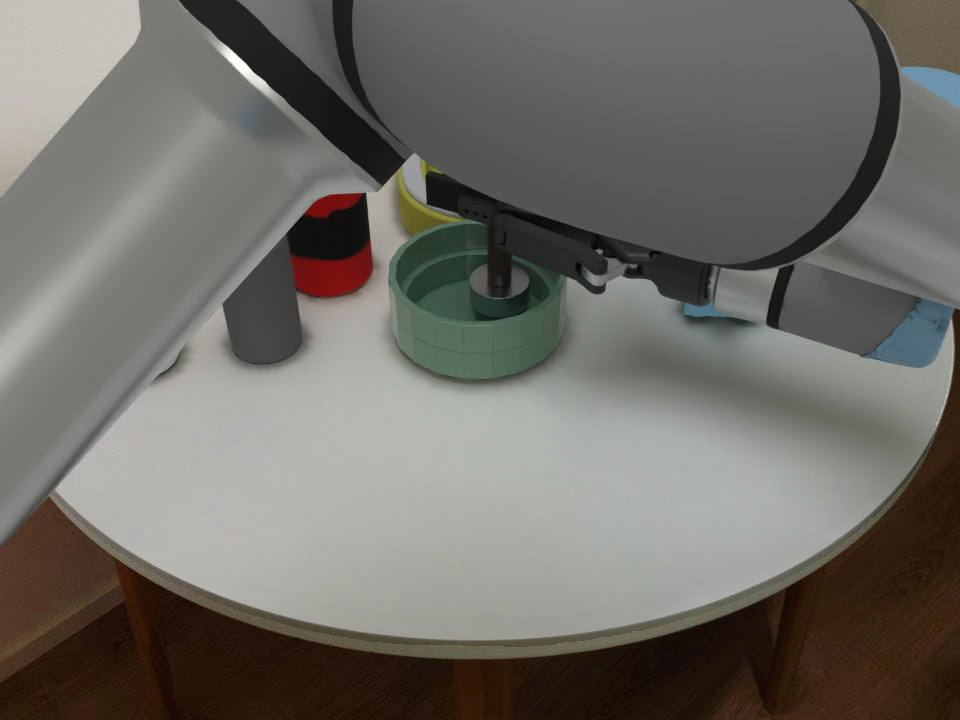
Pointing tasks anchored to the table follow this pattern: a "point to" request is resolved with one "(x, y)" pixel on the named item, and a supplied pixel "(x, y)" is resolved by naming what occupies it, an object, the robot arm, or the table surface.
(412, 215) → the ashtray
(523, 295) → the dark rod on disc
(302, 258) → the soda can
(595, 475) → the table surface
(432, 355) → the mixing bowl
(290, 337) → the bottle
